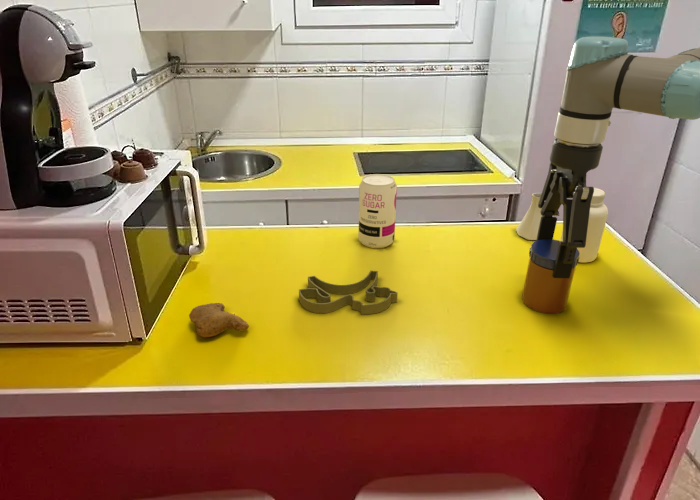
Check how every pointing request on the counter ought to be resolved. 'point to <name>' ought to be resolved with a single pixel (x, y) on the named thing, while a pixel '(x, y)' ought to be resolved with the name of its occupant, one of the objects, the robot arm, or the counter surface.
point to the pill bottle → (594, 227)
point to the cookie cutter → (325, 305)
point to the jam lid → (547, 253)
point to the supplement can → (377, 210)
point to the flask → (531, 220)
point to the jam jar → (545, 289)
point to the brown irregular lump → (215, 320)
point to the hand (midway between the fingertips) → (551, 262)
